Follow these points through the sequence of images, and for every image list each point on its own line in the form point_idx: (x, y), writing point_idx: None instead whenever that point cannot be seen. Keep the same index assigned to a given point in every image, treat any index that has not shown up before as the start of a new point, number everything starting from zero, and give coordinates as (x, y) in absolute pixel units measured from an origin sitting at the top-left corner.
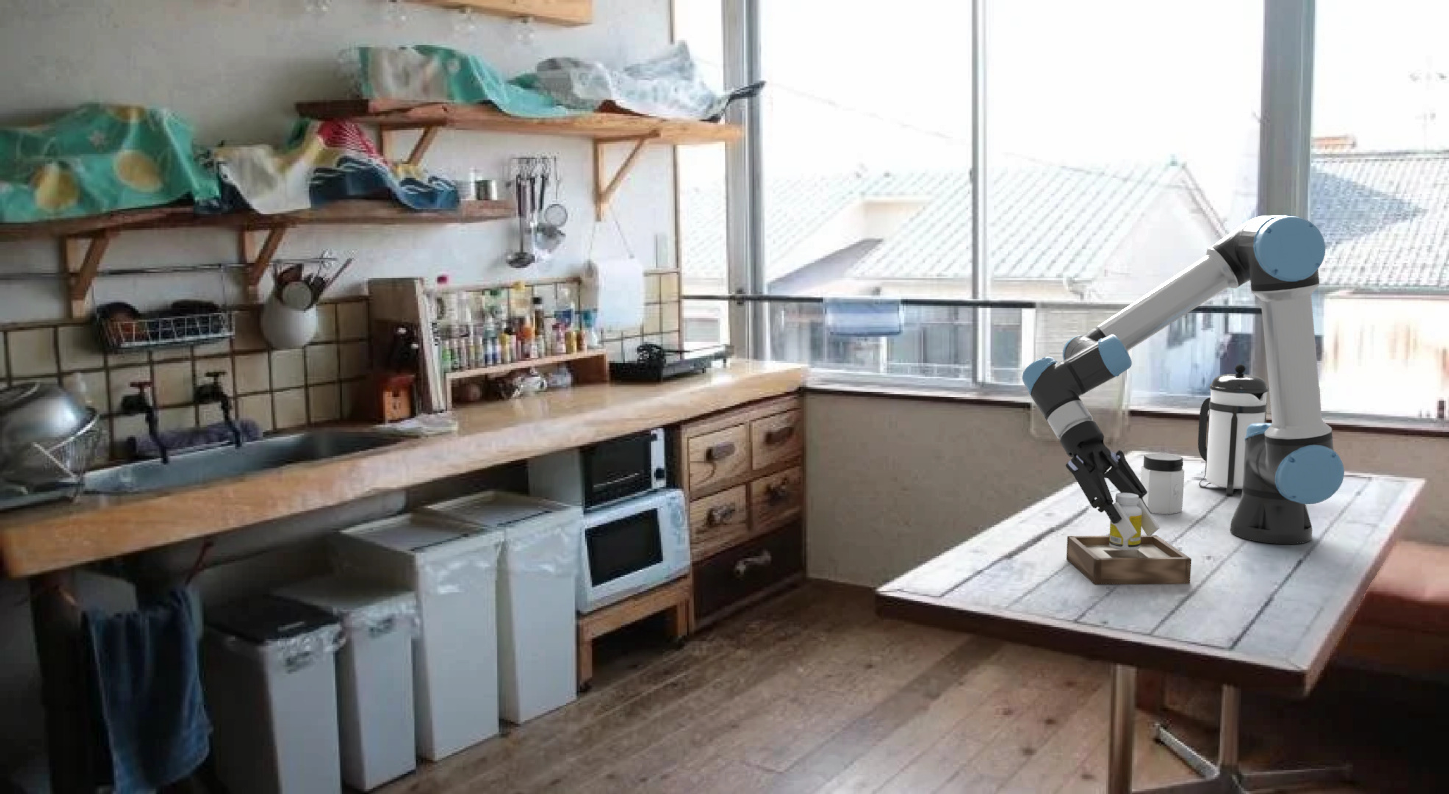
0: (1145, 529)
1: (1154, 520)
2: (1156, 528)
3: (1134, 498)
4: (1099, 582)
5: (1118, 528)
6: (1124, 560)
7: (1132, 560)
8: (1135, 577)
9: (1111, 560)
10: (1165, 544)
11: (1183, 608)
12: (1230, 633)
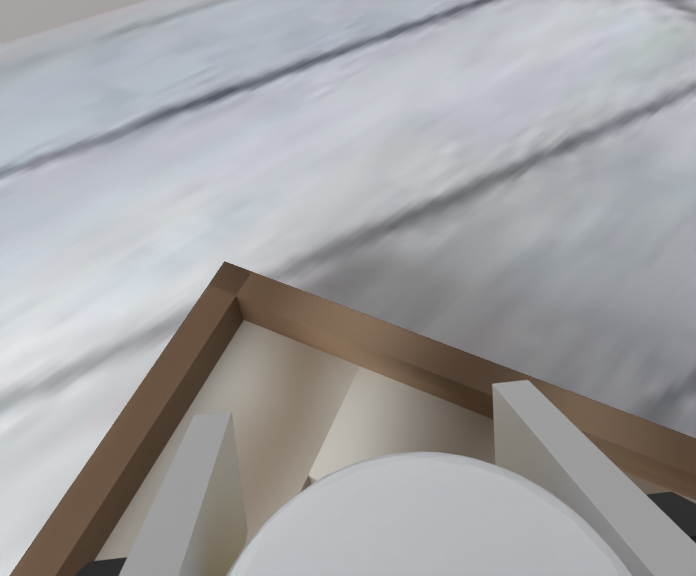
0: (237, 551)
1: (183, 452)
2: (231, 417)
3: (437, 454)
4: None
5: None
6: (596, 403)
7: (544, 385)
8: None
9: (681, 438)
10: (51, 570)
11: (508, 152)
12: (525, 4)
